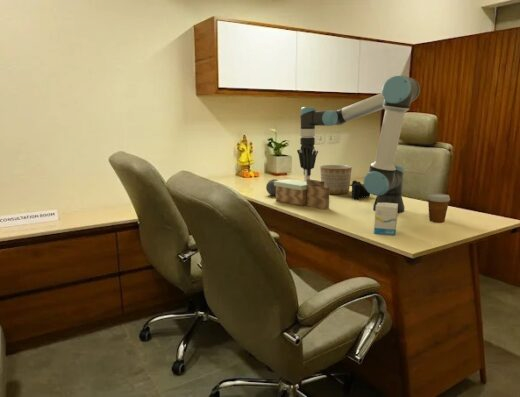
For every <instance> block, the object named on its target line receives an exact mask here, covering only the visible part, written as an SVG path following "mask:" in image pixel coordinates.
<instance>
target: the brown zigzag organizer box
mask: <svg viewBox="0 0 520 397" xmlns="http://www.w3.org/2000/svg"><path fill="white" fill-rule="evenodd" d="M275 202H280V203H284V204H289V205H293V206H298V207H305V206H307V207H309V208H310V207H311V208H315V209H320V210H329V209H330V194H329V187H326V186H315V185H307V189H306V190H297V189H291V188H285V187H280V186H276V196H275Z"/></svg>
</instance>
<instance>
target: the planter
mask: <svg viewBox="0 0 520 397" xmlns="http://www.w3.org/2000/svg"><path fill="white" fill-rule="evenodd" d="M319 169H320V181H324V186H326V187H329V195H331V196H332V195H334V196H335V195H336V196H342V195H347V194H348V193H349V192H350V187H351V186H350V185H351V177H352V169H353V167H352V165H346V164H326V165H321V166H320V168H319Z"/></svg>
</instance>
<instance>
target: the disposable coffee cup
mask: <svg viewBox="0 0 520 397" xmlns="http://www.w3.org/2000/svg"><path fill="white" fill-rule="evenodd" d="M426 199H427V200H428V201H427V202H428V203H427V204H428V220H429V222H432V223H435V224H436V223H437V224H442V223H445V221H446V216H447V211H448V207H449V203H450V201H451V198H450V194H445V193H429V194H428V195H427V196H426Z"/></svg>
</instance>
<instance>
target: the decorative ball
mask: <svg viewBox="0 0 520 397" xmlns="http://www.w3.org/2000/svg"><path fill="white" fill-rule="evenodd" d="M279 180H280V179H279ZM279 180H278V179H271V180H268V182H267V184H266V187H265V189H266V192H267V194H269V195H270V196H273V197H274V196H275V197H276V186H274V181H279Z"/></svg>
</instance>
